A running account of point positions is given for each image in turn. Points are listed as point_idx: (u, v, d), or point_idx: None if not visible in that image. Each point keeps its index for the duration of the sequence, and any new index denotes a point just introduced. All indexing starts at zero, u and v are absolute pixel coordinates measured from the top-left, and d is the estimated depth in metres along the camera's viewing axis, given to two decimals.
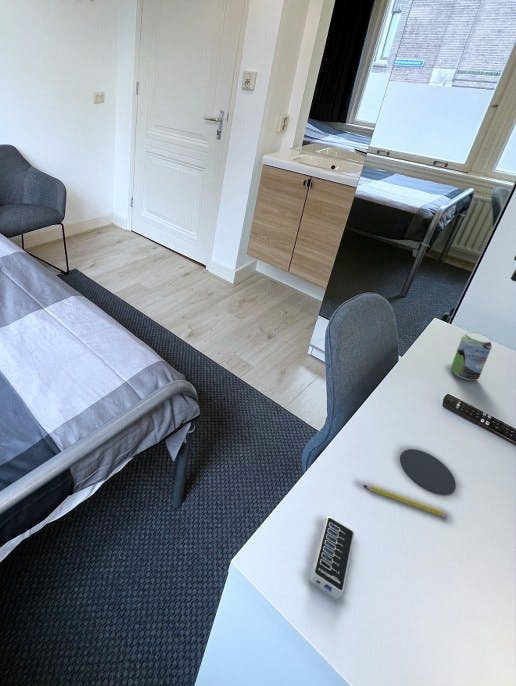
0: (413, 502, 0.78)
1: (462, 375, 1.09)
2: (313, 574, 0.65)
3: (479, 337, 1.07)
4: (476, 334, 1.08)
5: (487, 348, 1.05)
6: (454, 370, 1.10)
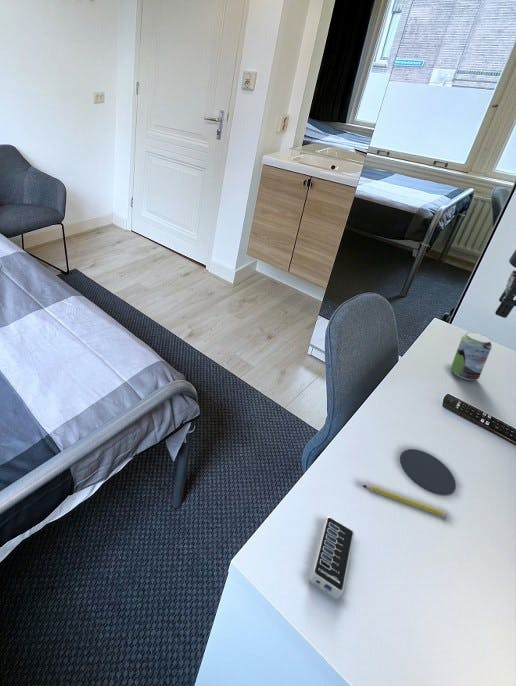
0: (413, 502, 0.78)
1: (462, 375, 1.09)
2: (313, 574, 0.65)
3: (479, 337, 1.07)
4: (476, 334, 1.08)
5: (487, 348, 1.05)
6: (454, 370, 1.10)
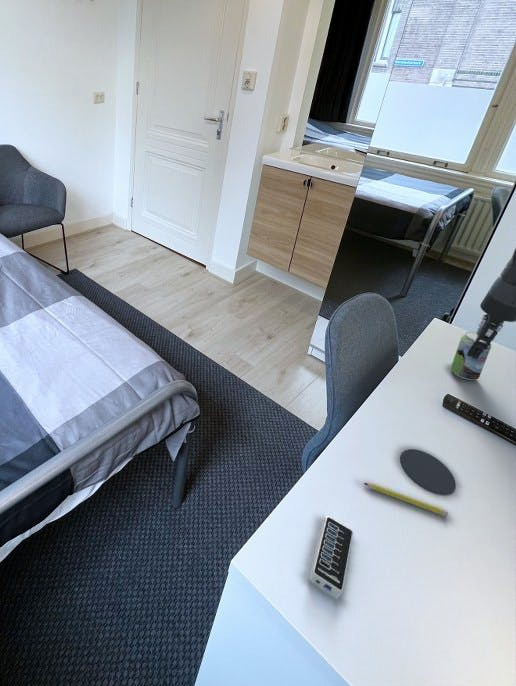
0: (414, 500, 0.78)
1: (462, 375, 1.09)
2: (313, 574, 0.65)
3: None
4: (476, 334, 1.08)
5: None
6: (454, 370, 1.10)
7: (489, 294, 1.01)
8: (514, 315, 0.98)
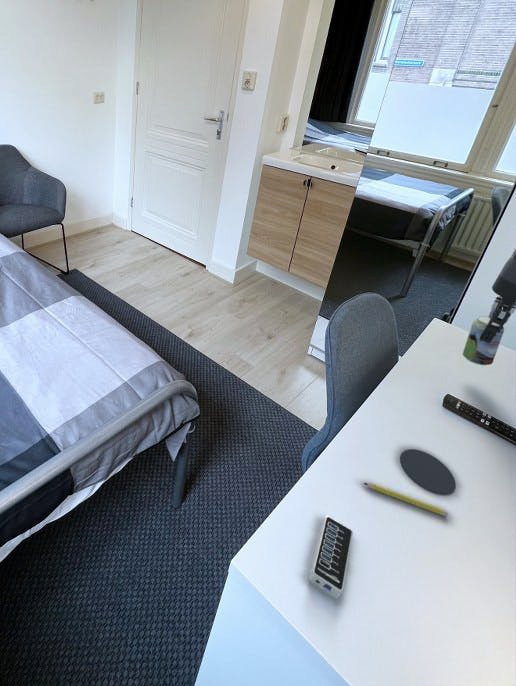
0: (413, 500, 0.78)
1: (474, 360, 1.06)
2: (312, 574, 0.65)
3: None
4: (488, 318, 1.05)
5: (499, 332, 1.02)
6: (466, 356, 1.07)
7: (501, 275, 0.99)
8: None
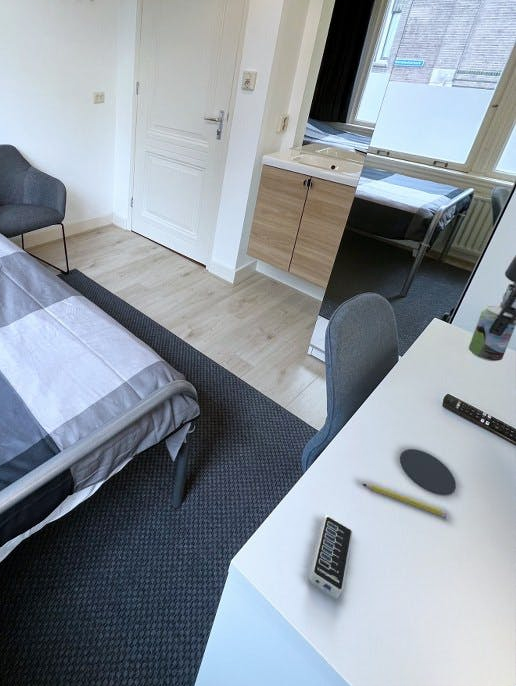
0: (413, 501, 0.78)
1: (482, 356, 0.94)
2: (312, 574, 0.65)
3: None
4: (498, 308, 0.94)
5: (512, 323, 0.90)
6: (473, 350, 0.96)
7: None
8: None
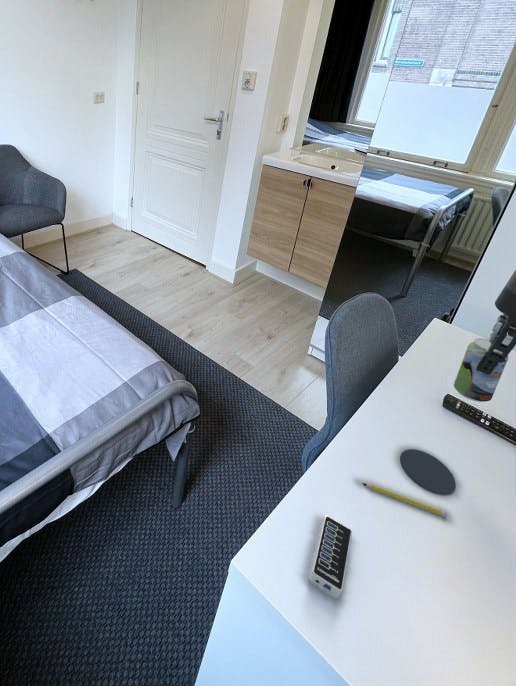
0: (413, 501, 0.78)
1: (469, 395, 0.82)
2: (312, 574, 0.65)
3: None
4: (487, 341, 0.82)
5: None
6: (458, 388, 0.84)
7: (507, 288, 0.75)
8: None
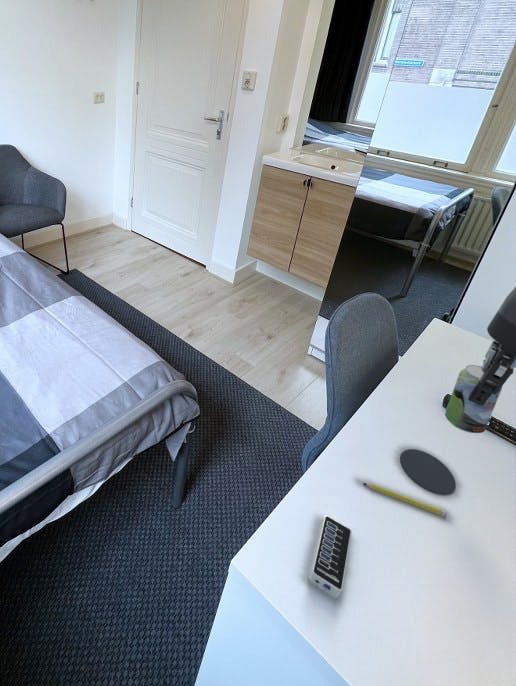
0: (413, 501, 0.78)
1: (461, 426, 0.77)
2: (312, 574, 0.65)
3: None
4: (480, 368, 0.76)
5: None
6: (449, 418, 0.78)
7: (500, 313, 0.69)
8: None
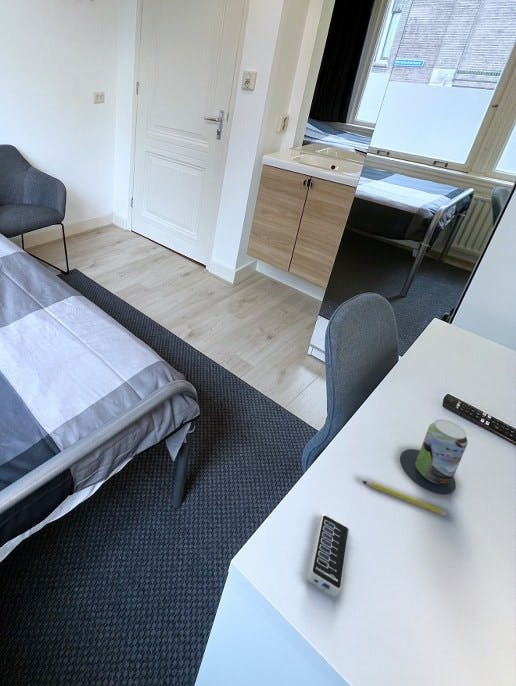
0: (412, 499, 0.78)
1: (429, 478, 0.81)
2: (311, 573, 0.65)
3: (452, 428, 0.80)
4: (448, 423, 0.81)
5: (461, 446, 0.77)
6: (419, 469, 0.83)
7: None
8: None
